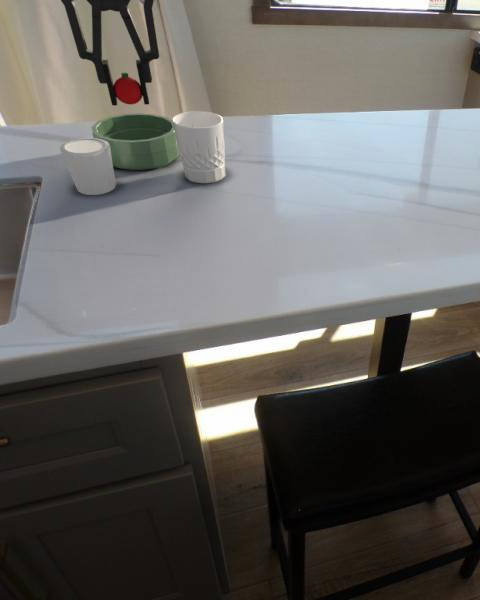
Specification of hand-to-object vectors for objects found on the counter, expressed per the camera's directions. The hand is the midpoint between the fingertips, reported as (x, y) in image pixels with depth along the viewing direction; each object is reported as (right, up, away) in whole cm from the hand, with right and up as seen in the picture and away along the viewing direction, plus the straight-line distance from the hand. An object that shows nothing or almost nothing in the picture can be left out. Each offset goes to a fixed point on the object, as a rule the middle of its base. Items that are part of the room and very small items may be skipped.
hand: (130, 102), depth 89 cm
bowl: (-1, -8, +6) cm, 10 cm away
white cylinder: (-3, -16, -4) cm, 17 cm away
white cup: (+12, -12, +3) cm, 17 cm away
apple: (0, 0, 0) cm, 0 cm away
